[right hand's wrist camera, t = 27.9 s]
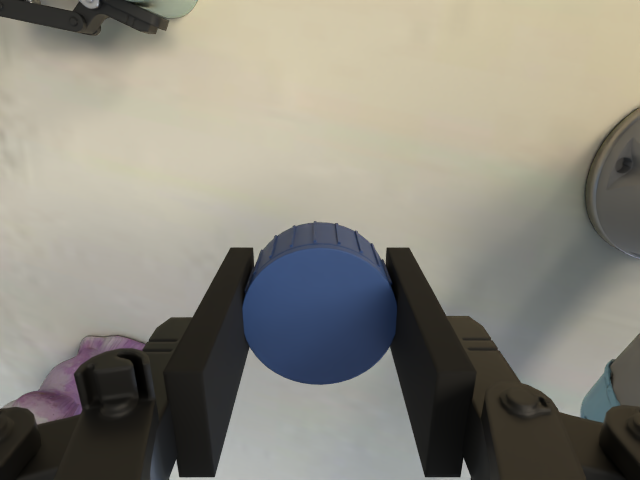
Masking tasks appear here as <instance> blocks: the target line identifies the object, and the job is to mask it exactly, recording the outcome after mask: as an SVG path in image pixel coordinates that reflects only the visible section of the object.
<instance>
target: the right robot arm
mask: <svg viewBox="0 0 640 480" xmlns="http://www.w3.org/2000/svg"><path fill="white" fill-rule="evenodd" d="M586 207H587V212H588V215H589V218H590V220H591V223H592V225H593V226H594V228H595V230H596V231H597V232H598V234H599V235H600V236H601V237H602V238H603V239H604V240H605V241H606V242H608V243H609V244H610V245H612V246H614V247H615V248H617V249H619V250H621V251H623V252H624V253H626V254H628V255H631V256H633V257H636V258H639V259H640V108H638V109H637V110H635V111H634V112H632V113H631V114H630V115H629V116H627V117H626V118H625V119H624V120H623V121H622V122H621V123H620V124H619V125H617V126H616V128H615V129H614V130H613V131H612V132H611V133H610V134H609V136H608V137H607V138H606V140H605V141H604V142H603V144H602V145H601V147H600V149H599V150H598V152H597V154H596V156H595V158H594V160H593V163H592V165H591V168H590V171H589V174H588V179H587V184H586ZM253 267H254V256H253V248H230V250H229V252H228V253H227V255H226V257H225V259H224V261H223V263H222V264H221V266H220V268H219V270H218V272H217V274H216V275H215V277H214V279H213V281H212V283H211V285H210V286H209V288H208V290H207V292H206V294H205V296H204V298H203V299H202V301H201V303H200V305H199V307H198V309H197V310H196V312H195V314H194V316H193V317H171V318H170V319H168V320H167V321H166V322H164V323H163V324H161V325H160V326H159V327H157V328H156V330H155V331H154V333H153V334H152V336H151V337H150V339H149V342H147V343H146V345H145V346H144V348H143V349H142V351H141V350H138V349H134V348H119V349H114V350H110V351H105V352H103V353H101V354H98V355H96V356H94V357H91V358H90V359H88V360H87V361H86V362H84V363H83V364H81V365H80V366H79V368H78V369H77V370H76V371H75V373H74V378H75V382H76V386H77V390H78V394H79V398H80V402H81V406H82V411H81V414H78V415H75V416H72V417H68V418H64V419H59V420H55V421H50V422H46V423H41V424H37V423H36V420H35V416H34V414H33V413H32V412H31V411H30V410H29V409H27V408H21V407H10V408H1V409H0V480H169V477H170V474H171V472H172V469H173V466H174V464H175V461H176V459H177V465H178V472H179V477H215V474H216V470H217V466H218V463H219V459H220V455H221V452H222V448H223V444H224V440H225V437H226V433H227V429H228V425H229V422H230V418H231V414H232V410H233V407H234V403H235V399H236V395H237V392H238V388H239V384H240V380H241V377H242V373H243V369H244V365H245V362H246V358H247V354H248V350H249V347H250V346H249V344H248V342H247V340H246V338H245V335H244V326H243V311H242V305H243V301H244V297H245V294H246V293H244V291H245V288H246V285H247V282H248V279H249V276H250V273H251V271H252V268H253ZM386 268H387V270H388V273H389V276H390V278H391V281H392V284H393V285H391V287H392V289H393V292H394V295H395V298H396V302H397V318H396V331H395V336H394V339H393V341H392V343H391V345H390V348H391V351H392V355H393V359H394V363H395V366H396V370H397V374H398V378H399V381H400V385H401V389H402V393H403V396H404V400H405V404H406V408H407V411H408V415H409V419H410V423H411V426H412V430H413V434H414V438H415V441H416V445H417V449H418V453H419V456H420V460H421V464H422V468H423V471H424V475H425V477H460V476H461V470H462V464H463V457H464V460H465V462H466V465H467V468H468V470H469V473H470V475H471V480H640V333H639V335H638V336H637V337H636V338H635V339H634V340H633V341H632V342H631V343H630V344H629V345H628V347H627V348H626V349H625V350H624V351H623V352H622V353H621V354H620V355H619V356H618V358H617V359H616V360H614V359H612V360H611V361H610V362H608V364H607V365H606V367H605V371H604V374H603V375H602V376H601V377H600V379H599V380H598V381H597V382H596V383H595V385H594V386H593V387H592V388H591V390H590V391H589V392H588V393H587V395H586V396H585V398H584V400H583V402H582V405H581V418H580V417H575V416H571V415H568V414H564V413H561V412H559V411H558V409H557V407H556V406H555V404H554V403H553V401H552V400H551V399H550V398H549V397H547V396H546V395H545V394H544V393H542V392H541V391H539V390H537V389H535V388H533V387H531V386H529V385H526V384H522V383H521V382H520V381H519V379H518V378H517V376H516V375H515V373H514V372H513V370H512V369H511V367H510V366H509V364H508V363H507V361H506V360H505V358H504V357H503V355H502V354H501V352H500V351H498V348H497V346H496V345H495V343H494V342H493V341H491V337H490V336H489V334H488V333H487V332H486V330H485V329H484V327H483V326H482V325H480V324H479V323H478V322H476V321H475V320H473V319H472V318H471V317H469V316H446V315H445V313H444V311H443V309H442V307H441V305H440V304H439V302H438V300H437V298H436V296H435V294H434V293H433V291H432V289H431V287H430V285H429V283H428V282H427V280H426V278H425V276H424V274H423V272H422V271H421V269H420V267H419V265H418V263H417V261H416V259H415V258H414V256H413V254H412V252H411V250H410V248H387V251H386Z"/></svg>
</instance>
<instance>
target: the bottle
mask: <svg viewBox="0 0 640 480" xmlns="http://www.w3.org/2000/svg"><path fill="white" fill-rule="evenodd" d="M126 1H128V2H130V3H133V4H135V5H137V6H139V7H142V8H144V9H146V10H149V11H151V12H153V13H156V14H158V15H160V16H163V17H166V18H179V17H182V16H184V15H186V14H188V13H189V12H190V11H191V10H192V9H193V8H194V6H195V5H196V3H197V0H126Z"/></svg>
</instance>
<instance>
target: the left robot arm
mask: <svg viewBox="0 0 640 480" xmlns="http://www.w3.org/2000/svg"><path fill="white" fill-rule="evenodd" d="M0 16H2V17H6V18H11V19H16V20H20V21H25V22H30V23H35V24H39V25H44V26H49V27H54V28H58V29H63V30H68V31H73V32H78V33H82V34H87V35H92V36H96V35H98V34H99V33H100V31H101V24H102V22H103V21H104V20H105V19H106V18H108V17H111V18H113V19H115V20H117V21H120V22H122V23H124V24H126V25H128V26H130V27H132V28H134V29H136V30H138V31H141V32H144V33H148V34H156V32H157V28H159V29H162V30H165V31H166V29H167V26H168V23H169V21H168V20H166V19H164V18H162V17H160V16H158V15H156V14H154V13H152V12H150V11H148V10H146V9H143V8H141V7H139V6H137V5H135V4H133V3H130V2H128V1H126V0H79V3H78V4H77V6H76V7H75V9H74V10H73V11H69V10H64V9H59V8H54V7H50V6H45V5H41V2H40V0H0Z"/></svg>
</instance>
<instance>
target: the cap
mask: <svg viewBox="0 0 640 480" xmlns="http://www.w3.org/2000/svg"><path fill="white" fill-rule="evenodd" d="M391 285H393V284H392V281H391V278H390V276H389V273H388V270H387V268H386V265H385V263H384V260H383V259H382V260H381V258H380V256H379V254H378V253H377V251H376V250H375V248H374V245H373V244H372V243H371V244H370V243H369V242H368V241H367V240H366V239H365V238H364V237H362V236H361V235H360V234H358V231H353V230H351V229H349V228H346V227H344V226H340V225H338V223H335V224H332V223H322V222H317V223H316V221H314V223H307V224H302V225H298V226H295V225H294V226H293V228H290V229H288V230H286V231H284V232H282V233H281V234H279V235H278V236H277V235H275V236H274V239H273V240H272V241H271V242H270V243H269V244H268V245H267V246H266V247H265V248H264V250H261V251H260V254H259V257H258V260H257V262H256V265H255V267H253V268H252V271H251V273H250V276H249V279H248V282H247V285H246V288H245V291H244V293H246V294H245V297H244V301H243V305H242V311H243V326H244V335H245V338H246V340H247V342H248V344H249V346H250V348H251V350H252V351H253V353H254V354H255V355H256V357H257V358H258V359H259V360H260V361H261V362H262V363H263V364H264V365H265V366H267V367H268V368H269V369H271V370H272V371H274V372H275V373H277V374H279V375H281V376H283V377H285V378H287V379H290V380H293V381H296V382H300V383H306V384H318V385H323V384H333V383H338V382H343V381H346V380H349V379H352V378H354V377H356V376H359V375H360V374H362V373H364V372H366V371H367V370H368V369H370V368H371V367H372V366H374V365H375V364H376V363H377V362H378V361H379V360H380V359H381V358H382V357H383V355H384V354H385V353H386V352H387V350H388V348H389V347H390V345H391V343H392V341H393V339H394V336H395V331H396V318H397V302H396V298H395V295H394V292H393V289H392V287H391Z"/></svg>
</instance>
